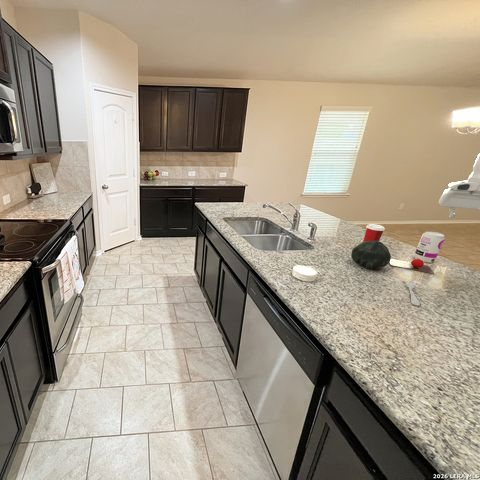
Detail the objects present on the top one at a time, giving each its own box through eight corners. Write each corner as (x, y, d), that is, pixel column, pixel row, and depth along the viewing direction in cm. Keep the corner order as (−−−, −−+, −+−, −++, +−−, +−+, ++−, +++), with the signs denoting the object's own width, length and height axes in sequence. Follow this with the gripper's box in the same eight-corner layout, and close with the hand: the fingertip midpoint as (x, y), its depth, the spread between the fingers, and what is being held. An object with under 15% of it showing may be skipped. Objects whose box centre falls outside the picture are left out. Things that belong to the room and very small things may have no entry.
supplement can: (436, 261, 134) (448, 234, 128) (431, 264, 130) (443, 237, 124) (415, 255, 140) (426, 230, 135) (410, 258, 136) (421, 232, 131)
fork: (408, 308, 99) (411, 303, 98) (402, 281, 114) (404, 276, 113) (418, 311, 97) (421, 305, 96) (410, 283, 112) (413, 278, 111)
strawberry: (414, 264, 129) (426, 263, 125) (412, 269, 127) (424, 269, 123) (411, 257, 128) (422, 256, 124) (408, 262, 126) (420, 262, 122)
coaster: (319, 283, 112) (321, 276, 110) (295, 280, 114) (296, 273, 112) (311, 272, 121) (313, 266, 120) (289, 270, 123) (290, 263, 121)
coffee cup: (374, 248, 148) (382, 224, 143) (378, 254, 141) (387, 229, 136) (357, 246, 152) (364, 222, 146) (360, 251, 145) (368, 226, 139)
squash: (361, 246, 137) (360, 231, 127) (395, 257, 126) (398, 241, 116) (346, 266, 135) (345, 252, 125) (380, 279, 124) (382, 265, 114)
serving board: (428, 266, 128) (428, 265, 128) (433, 274, 120) (434, 273, 120) (387, 258, 136) (387, 257, 136) (390, 265, 128) (390, 264, 128)
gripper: (518, 187, 98) (501, 221, 103) (444, 183, 109) (432, 214, 114) (527, 189, 93) (510, 225, 98) (449, 185, 104) (436, 217, 109)
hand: (467, 219), depth 106 cm, fingers open, 8 cm apart
